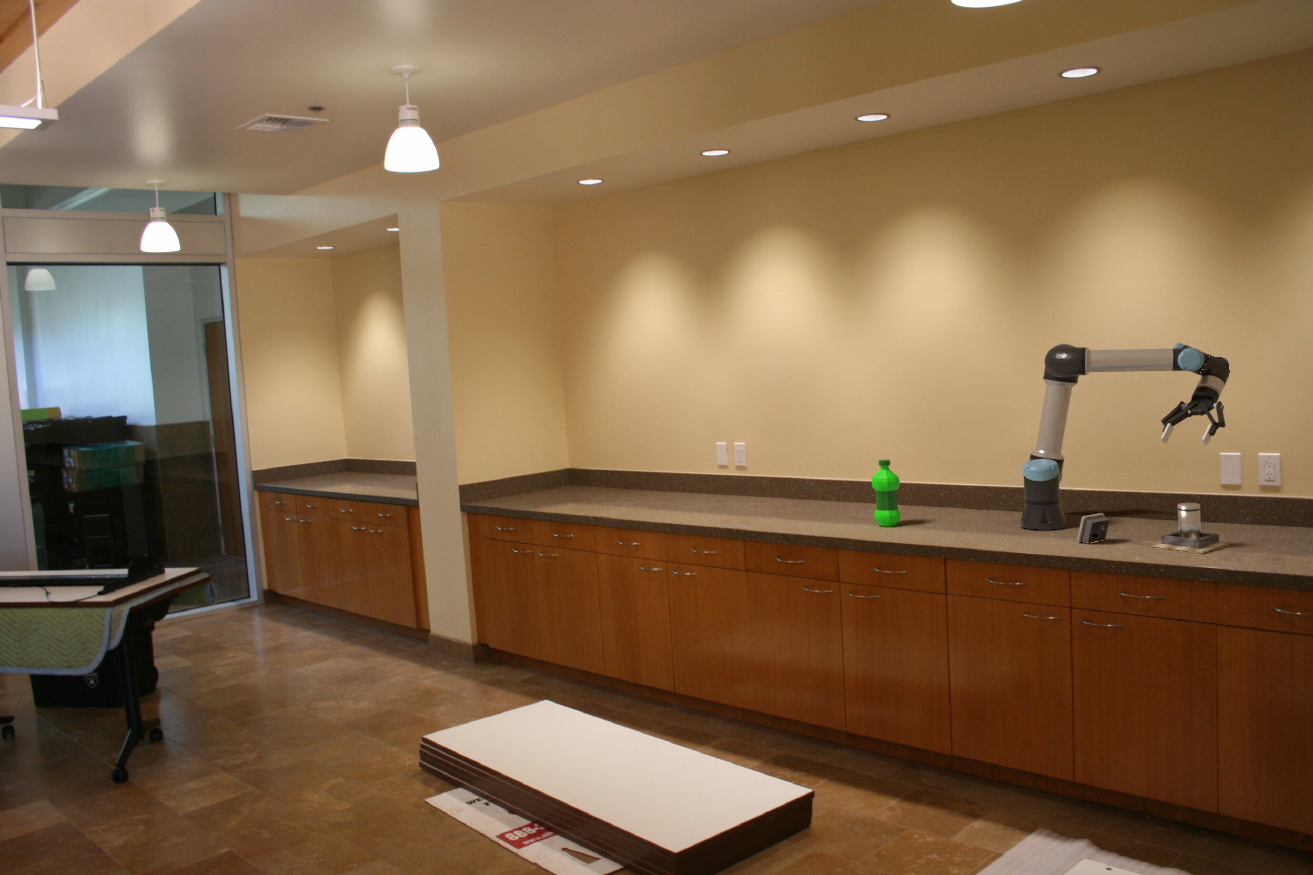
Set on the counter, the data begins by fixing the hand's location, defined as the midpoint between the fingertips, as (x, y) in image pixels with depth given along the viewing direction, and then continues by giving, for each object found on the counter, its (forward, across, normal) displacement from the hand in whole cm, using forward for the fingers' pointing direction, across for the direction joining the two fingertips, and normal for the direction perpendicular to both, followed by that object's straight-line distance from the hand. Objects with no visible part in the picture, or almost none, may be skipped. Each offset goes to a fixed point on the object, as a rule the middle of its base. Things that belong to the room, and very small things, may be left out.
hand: (1183, 441), depth 314 cm
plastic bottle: (+56, +86, +14) cm, 104 cm away
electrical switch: (+44, +12, +1) cm, 45 cm away
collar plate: (+36, -13, -6) cm, 38 cm away
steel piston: (+35, -13, -6) cm, 38 cm away
